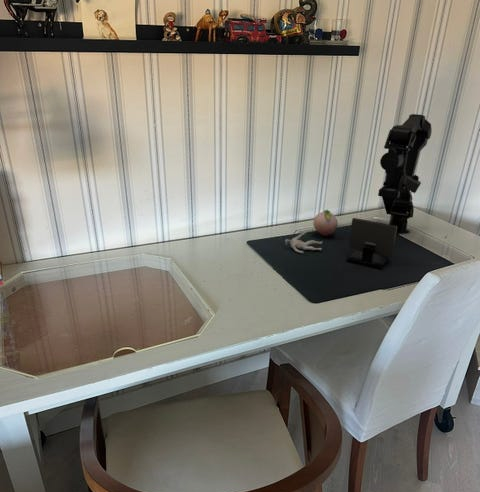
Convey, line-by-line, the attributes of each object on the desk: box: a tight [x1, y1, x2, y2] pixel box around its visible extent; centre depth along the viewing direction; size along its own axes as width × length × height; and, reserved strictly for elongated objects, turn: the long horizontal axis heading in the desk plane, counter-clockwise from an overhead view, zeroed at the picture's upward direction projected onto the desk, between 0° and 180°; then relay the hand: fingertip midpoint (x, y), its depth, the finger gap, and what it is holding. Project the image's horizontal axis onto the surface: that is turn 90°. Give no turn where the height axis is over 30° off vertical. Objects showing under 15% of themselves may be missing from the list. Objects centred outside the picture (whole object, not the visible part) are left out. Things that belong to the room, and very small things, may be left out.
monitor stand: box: [346, 245, 390, 270], centre depth 157 cm, size 8×11×5 cm
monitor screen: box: [348, 217, 397, 258], centre depth 155 cm, size 2×14×10 cm, turn 59°
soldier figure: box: [284, 231, 323, 254], centre depth 165 cm, size 8×5×12 cm
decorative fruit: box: [313, 209, 339, 237], centre depth 176 cm, size 9×8×10 cm
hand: (388, 213), depth 166 cm, fingers closed
